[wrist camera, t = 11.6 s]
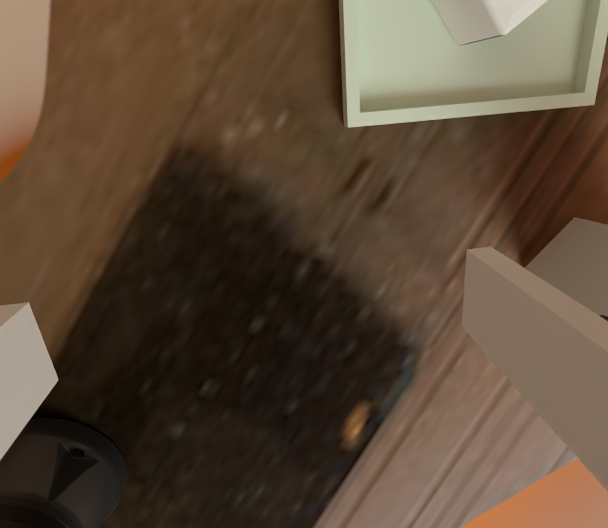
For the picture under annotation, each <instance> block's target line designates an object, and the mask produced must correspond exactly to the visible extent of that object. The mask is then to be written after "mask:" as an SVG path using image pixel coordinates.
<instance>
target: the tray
mask: <svg viewBox="0 0 608 528" xmlns="http://www.w3.org/2000/svg"><path fill="white" fill-rule="evenodd" d="M339 21H340V45H341V70H342V95H343V119H344V126H346V127H359V126H370V125H381V124H392V123H403V122H414V121H424V120H435V119H446V118H457V117H468V116H479V115H490V114H501V113H512V112H523V111H534V110H544V109H555V108H566V107H577V106H588V105H594V104H595V99H596V93H597V88H598V82H599V77H600V72H601V66H602V61H603V55H604V50H605V44H606V39H607V34H608V0H548V1H546V2H545V3H544V4H543V5H541V6H540V7H539V8H538V9H537V10H535V11H534V12H533V13H532V14H531V15H529V16H528V17H527V18H526V19H524V20H523V21H522V22H521V23H520V24H518V25H517V26H516V27H515V28H513V29H512V30H511V31H510V32H509V33H507V34H506V35H503V36H499V37H495V38H491V39H487V40H483V41H478V42H474V43H470V44H466V45H462V46H458V45H457V44H456V43H455V41H454V39H453V37H452V36H451V34H450V32H449V30H448V29H447V27H446V25H445V23H444V22H443V20H442V18H441V16H440V15H439V13H438V11H437V9H436V8H435V6H434V4H433V2H432V1H431V0H339Z"/></svg>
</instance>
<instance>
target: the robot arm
mask: <svg viewBox="0 0 608 528" xmlns="http://www.w3.org/2000/svg"><path fill="white" fill-rule="evenodd" d="M462 328H463V329H464V330H465V331H466V332H467V333H468V334H469V336H470V337H471V338H472V339H473V340H474V341H475V342H476V343H477V345H478V346H479V347H480V348H481V349H482V350H483V351H484V352H485V354H486V355H487V356H488V357H489V358H490V359H491V360H492V362H493V363H494V364H495V365H496V366H497V367H498V368H499V369H500V371H501V372H502V373H503V374H504V375H505V376H506V377H507V378H508V380H509V381H510V382H511V383H512V384H513V385H514V386H515V387H516V389H517V390H518V391H519V392H520V393H521V394H522V395H523V396H524V398H525V399H526V400H527V401H528V402H529V403H530V404H531V405H532V407H533V408H534V409H535V410H536V411H537V412H538V413H539V415H540V416H541V417H542V418H543V419H544V420H545V421H546V422H547V424H548V425H549V426H550V427H551V428H552V429H553V430H554V431H555V433H556V434H557V435H558V436H559V437H560V438H561V439H562V440H563V442H564V443H565V444H566V445H567V446H568V447H569V448H570V449H571V451H572V452H573V453H574V454H575V455H576V456H577V457H578V458H579V459H580V461H581V462H582V463H583V464H584V465H585V466H586V467H587V469H588V470H589V471H590V472H591V473H592V474H593V475H594V477H595V478H596V479H597V480H598V481H599V482H600V483H601V484H602V485H603V487H604V488H605V489H606V490H607V491H608V317H607V316H604V315H597V314H596V313H594V312H592V311H591V310H589V309H588V308H586V307H585V306H583V305H581V304H580V303H578V302H577V301H575V300H574V299H572V298H571V297H569V296H567V295H566V294H564V293H563V292H561V291H560V290H558V289H556V288H555V287H553V286H552V285H550V284H549V283H547V282H545V281H544V280H542V279H541V278H539V277H538V276H536V275H534V274H533V273H531V272H530V271H528V270H527V269H525V268H523V267H522V266H520V265H519V264H517V263H516V262H514V261H512V260H511V259H509V258H508V257H506V256H505V255H503V254H501V253H500V252H498V251H497V250H495V249H494V248H492V247H484V248H476V249H468V250H467V255H466V270H465V285H464V300H463V315H462ZM57 381H58V377H57V375H56V372H55V369H54V367H53V364H52V362H51V359H50V356H49V354H48V351H47V349H46V346H45V344H44V341H43V338H42V336H41V333H40V331H39V328H38V325H37V323H36V320H35V318H34V315H33V313H32V310H31V307H30V305H29V302H28V303H19V304H11V305H3V306H0V528H100V527H101V525H102V524H103V523H104V521H105V520H106V519H107V518H108V516H109V515H110V514H111V513H112V512H113V511H114V509H115V508H116V506H117V504H118V502H119V500H120V498H121V495H122V492H123V490H124V487H125V484H126V481H127V467H126V463H125V460H124V458H123V456H122V454H121V453H120V451H119V450H118V449H117V447H116V446H115V445H114V444H113V443H112V442H111V441H110V440H109V439H108V438H106V437H105V436H104V435H102V434H101V433H99V432H97V431H96V430H94V429H92V428H90V427H87V426H85V425H82V424H80V423H76V422H73V421H69V420H64V419H56V418H36V419H31V417H32V416H33V414H34V413H35V412H36V410H37V409H38V408H39V406H40V405H41V403H42V402H43V401H44V399H45V398H46V396H47V395H48V394H49V392H50V391H51V390H52V388H53V387H54V385H55V384H56V383H57Z"/></svg>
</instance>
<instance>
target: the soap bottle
mask: <svg viewBox="0 0 608 528" xmlns="http://www.w3.org/2000/svg"><path fill="white" fill-rule="evenodd" d="M525 269H527V270H528V271H530V272H531V273H533V274H534V275H536V276H538V277H539V278H541V279H542V280H544V281H545V282H547V283H549V284H550V285H552V286H553V287H555V288H556V289H558V290H560V291H561V292H563V293H564V294H566V295H567V296H569V297H571V298H572V299H574V300H575V301H577V302H578V303H580V304H581V305H583V306H585V307H586V308H588V309H589V310H591V311H592V312H594V313H596V314H597V315H604V316H607V317H608V225H607V224H602V223H598V222H594V221H590V220H586V219H581V218H577V217H574V218H573V219H572V220H571V221H570V222H569V223H568V224H567V225H566V226H565V227H564V228H563V229H562V230H561V231H560V232H559V233H558V234H557V235H556V236H555V237H554V238H553V239H552V240H551V242H550V243H549V244H548V245H547V246H546V247H545V248H544V249H543V250H542V251H541V252H540V253H539V254H538V255H537V256H536V257H535V258H534V259H533V260H532V261H531V262H530V263H529V264H528V265H527V266H526V267H525Z"/></svg>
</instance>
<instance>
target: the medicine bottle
mask: <svg viewBox="0 0 608 528" xmlns="http://www.w3.org/2000/svg"><path fill="white" fill-rule="evenodd" d="M431 1H432V2H433V4H434V6H435V8H436V9H437V11H438V13H439V15H440V16H441V18H442V20H443V22H444V23H445V25H446V27H447V29H448V30H449V32H450V34H451V36H452V37H453V39H454V41H455V43H456V44H457V45H458V46H462V45H466V44H470V43H474V42H478V41H483V40H487V39H491V38H495V37H499V36H503V35H506V34H507V33H509V32H510V31H511V30H512V29H513V28H515V27H516V26H517V25H518V24H520V23H521V22H522V21H523V20H524V19H526V18H527V17H528V16H529V15H531V14H532V13H533V12H534V11H535V10H537V9H538V8H539V7H540V6H541V5H543V4H544V3H545V2H546V1H548V0H431Z"/></svg>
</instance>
